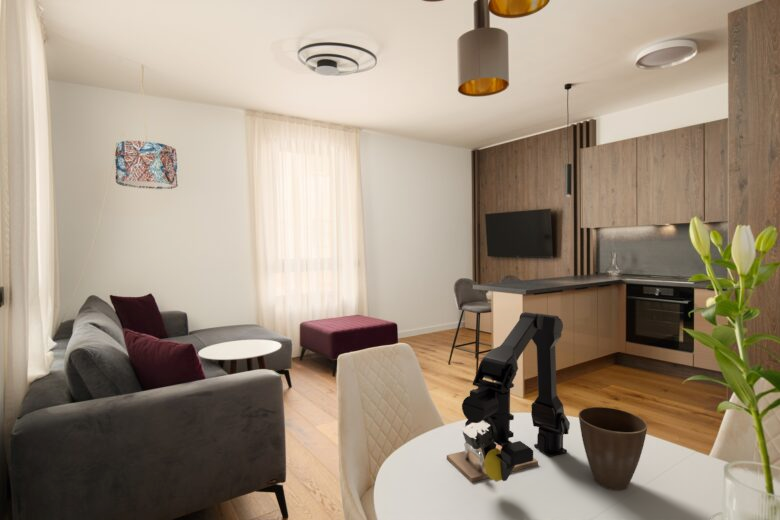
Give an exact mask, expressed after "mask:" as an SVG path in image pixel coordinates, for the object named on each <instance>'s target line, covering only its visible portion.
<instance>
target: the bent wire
mask: <svg viewBox="0 0 780 520" xmlns="http://www.w3.org/2000/svg"><path fill="white" fill-rule="evenodd" d="M464 451H465V460H469V456H470V451H471V452H472V453H473V454H474V455H475V456H477V457H478V471H479V472H482V471H483V453H482V452H481V451H479V450H478V449H473V448H472V446H470V445H469V444H467V443H466V441H465V442H464Z"/></svg>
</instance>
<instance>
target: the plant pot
mask: <svg viewBox="0 0 780 520" xmlns="http://www.w3.org/2000/svg"><path fill="white" fill-rule="evenodd" d="M578 420H579V427H580V432H581V439H582V443H583V447H584V452H585V455H586V458H587V459H586V460H587V462H588V465H589V468H590V471H591V473H592V476H593V479H594V481H595V482H596V483H597V484H598V485H600V486H601V487H604V488H606V489H609V490H612V491H622V490H626V489H627V488H628V487H629V484H630V482H631V480H632V479H633V476H634V474H635V471H636V470H637V467H638V465H639V463H640V459H641V455H642V452H643V449H644V444H645V440H646V436H647V431H648V423H647V422H646V421H645V420H644V419H643V418H642V417H640V416H638V415H636V414H634V413H631V412H628V411H626V410H621V409H617V408H613V407H607V406H606V407H604V406H591V407H586V408H582V409H581V410H580V411H579V413H578Z"/></svg>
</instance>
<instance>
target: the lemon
mask: <svg viewBox="0 0 780 520" xmlns="http://www.w3.org/2000/svg"><path fill="white" fill-rule="evenodd" d="M497 454H501V450H499V449H498V448H495V449H492V450H490V451H489V452H488V453H487V455H486V458H485V471H486V473H487V475H488V476H489V478H490V479H491V480H493V481H494V482H495V483H497V482H499V481H503V480H502V476H501V463H500V459H499V458H498V457H497V456H496V455H497Z"/></svg>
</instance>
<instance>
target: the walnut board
mask: <svg viewBox="0 0 780 520" xmlns="http://www.w3.org/2000/svg"><path fill="white" fill-rule="evenodd" d="M478 450H479V451H481V452H482V450H481V448H479V449H478ZM446 460H447V461H449V463H451V464H452V465H453V466H454V468H456V469H457V470H458V471H459V472H460V473H461V474H462V475H463V476H464V477H465V478H466V479H467V480H468V481H469V482H471V483H473V482H477V481H480V480H485V479H488V478H490V477H489V476H488V475H487V473H486V471H485V460H484V456H483V471H482V472H479V471H478V457H477V456H475V455H474V454H473V453H472V452H471V451H470V456H469V460H465V450H463V451H458V452H454V453H449V454H446ZM538 465H539V460H538V459H536V458H534V457H533V461H530V462H526V463H522V464H519V465H515V466H514V468H513V470H512V472H515V471H519V470H522V469H527V468H531V467H535V466H538Z"/></svg>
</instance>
